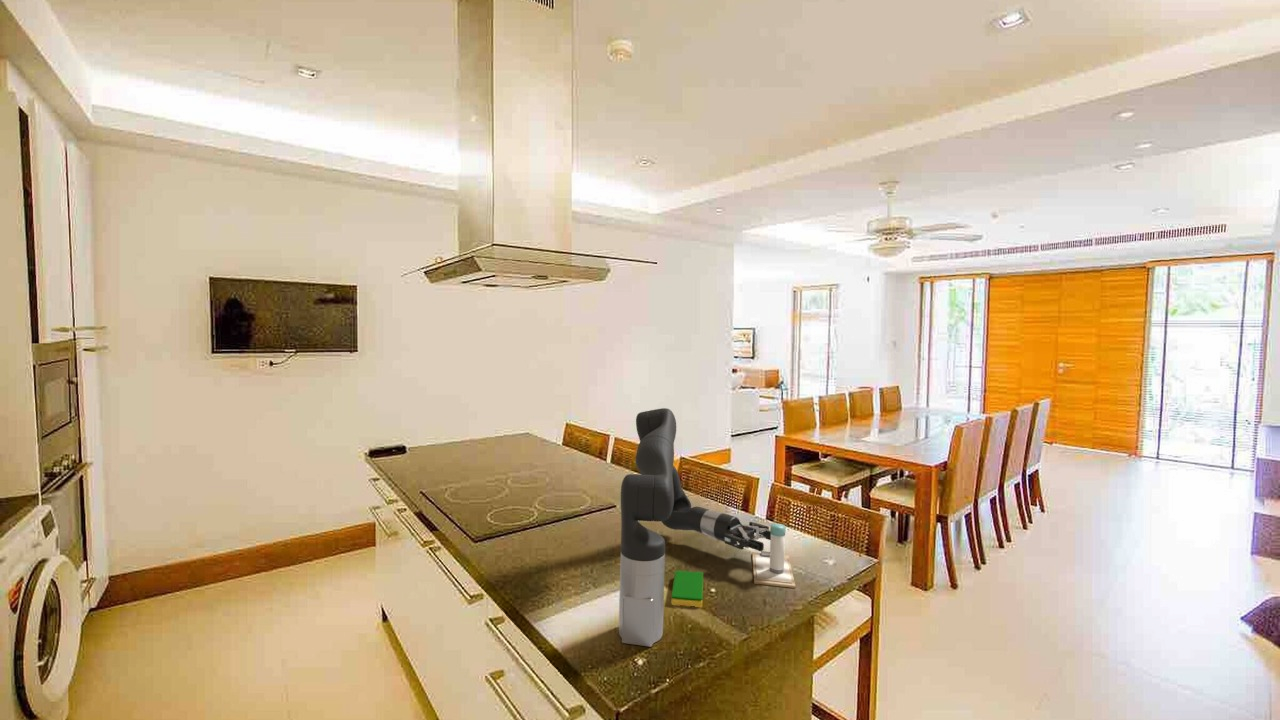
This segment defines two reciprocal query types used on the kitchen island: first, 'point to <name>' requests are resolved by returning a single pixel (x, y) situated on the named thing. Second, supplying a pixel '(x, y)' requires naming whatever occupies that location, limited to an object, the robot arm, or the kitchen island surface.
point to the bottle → (777, 548)
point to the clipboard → (768, 578)
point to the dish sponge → (687, 588)
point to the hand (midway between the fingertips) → (771, 542)
